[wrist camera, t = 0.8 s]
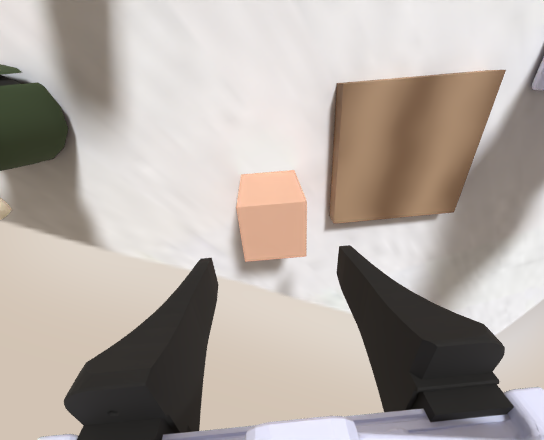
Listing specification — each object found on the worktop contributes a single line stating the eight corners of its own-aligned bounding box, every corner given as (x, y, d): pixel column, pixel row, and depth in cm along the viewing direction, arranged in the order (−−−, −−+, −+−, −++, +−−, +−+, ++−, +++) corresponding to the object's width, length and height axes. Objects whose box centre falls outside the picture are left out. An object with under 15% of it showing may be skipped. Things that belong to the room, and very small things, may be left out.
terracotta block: (294, 169, 20) (306, 201, 15) (295, 215, 23) (306, 256, 18) (241, 174, 20) (236, 207, 15) (247, 219, 23) (245, 261, 18)
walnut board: (481, 70, 18) (505, 69, 16) (439, 202, 24) (453, 212, 22) (334, 83, 18) (343, 84, 16) (327, 212, 23) (333, 223, 22)
